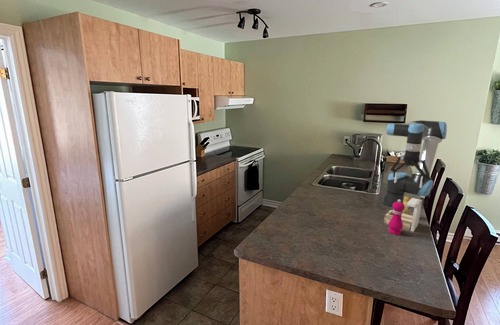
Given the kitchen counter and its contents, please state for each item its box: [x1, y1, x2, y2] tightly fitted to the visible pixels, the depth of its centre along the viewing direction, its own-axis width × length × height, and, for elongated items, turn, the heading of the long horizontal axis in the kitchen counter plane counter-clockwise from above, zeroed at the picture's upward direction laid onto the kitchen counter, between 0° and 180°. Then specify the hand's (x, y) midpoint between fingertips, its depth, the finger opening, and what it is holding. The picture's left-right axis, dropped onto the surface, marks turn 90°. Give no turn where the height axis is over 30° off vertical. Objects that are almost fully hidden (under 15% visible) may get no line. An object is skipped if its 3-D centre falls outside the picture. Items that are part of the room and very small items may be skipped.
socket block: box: [383, 209, 413, 231], centre depth 164 cm, size 12×14×5 cm
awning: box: [406, 197, 423, 233], centre depth 159 cm, size 12×6×16 cm, turn 137°
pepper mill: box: [387, 199, 405, 236], centre depth 151 cm, size 7×7×20 cm
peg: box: [403, 195, 412, 215], centre depth 172 cm, size 4×4×14 cm
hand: (407, 184), depth 162 cm, fingers open, 13 cm apart
